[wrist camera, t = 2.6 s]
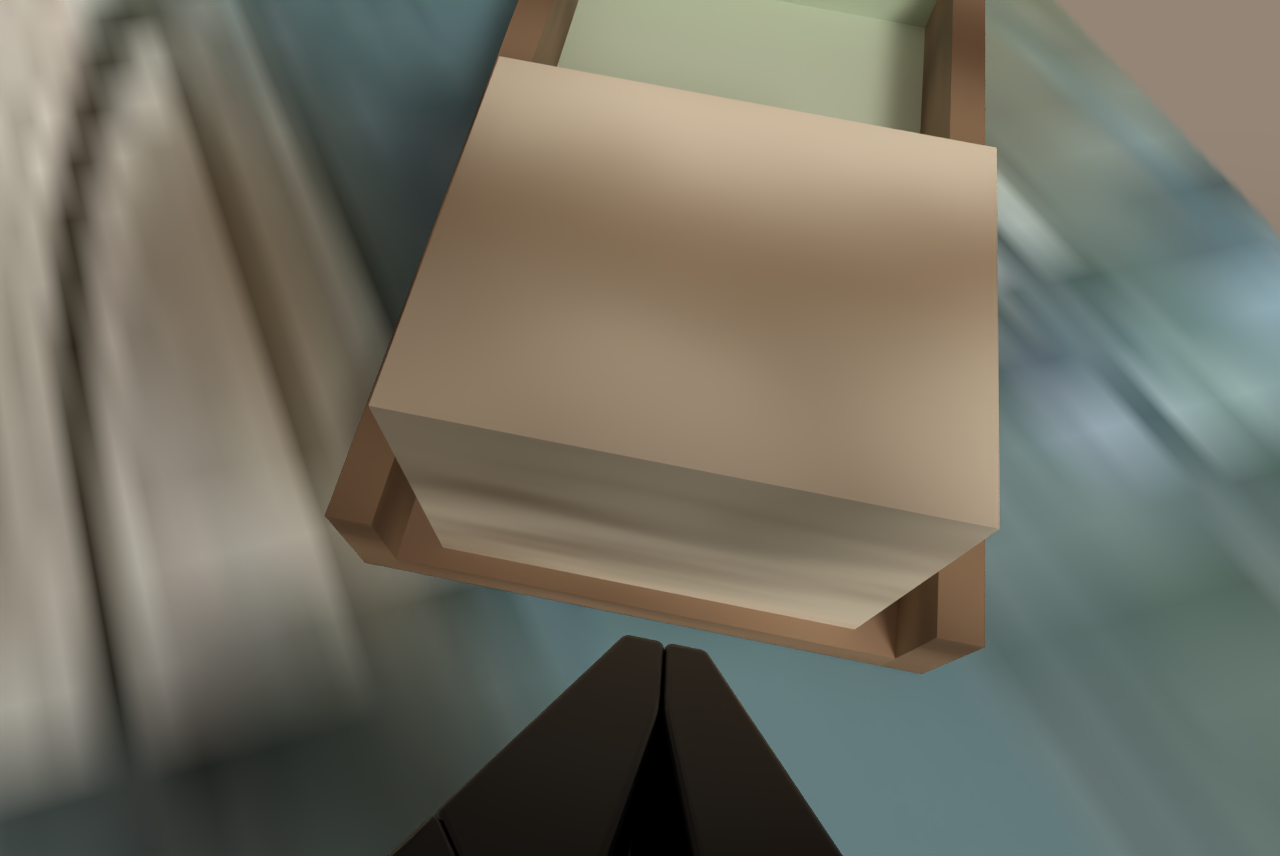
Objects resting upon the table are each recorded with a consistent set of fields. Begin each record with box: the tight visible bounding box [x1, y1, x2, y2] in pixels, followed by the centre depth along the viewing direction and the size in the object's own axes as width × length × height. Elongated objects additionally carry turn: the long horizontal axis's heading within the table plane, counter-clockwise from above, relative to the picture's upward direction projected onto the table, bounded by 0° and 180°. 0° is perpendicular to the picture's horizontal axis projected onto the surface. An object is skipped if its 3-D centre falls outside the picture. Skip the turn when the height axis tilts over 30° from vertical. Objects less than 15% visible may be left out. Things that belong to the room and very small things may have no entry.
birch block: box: [368, 56, 1000, 629], centre depth 18 cm, size 8×10×8 cm
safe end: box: [557, 0, 937, 134], centre depth 26 cm, size 10×14×4 cm
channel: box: [325, 0, 985, 674], centre depth 24 cm, size 23×14×4 cm, turn 169°
